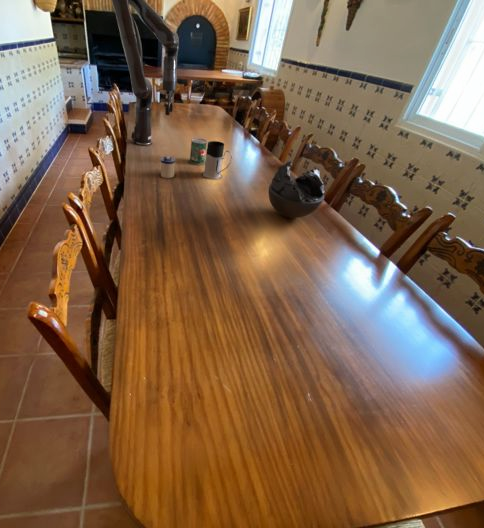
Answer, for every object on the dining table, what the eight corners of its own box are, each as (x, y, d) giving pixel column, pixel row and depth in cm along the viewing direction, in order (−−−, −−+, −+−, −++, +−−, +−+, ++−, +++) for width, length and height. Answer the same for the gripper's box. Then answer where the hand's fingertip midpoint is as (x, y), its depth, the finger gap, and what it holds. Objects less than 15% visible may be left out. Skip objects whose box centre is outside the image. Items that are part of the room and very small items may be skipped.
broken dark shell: (324, 228, 110) (345, 179, 98) (272, 227, 108) (287, 178, 97) (302, 203, 126) (318, 158, 114) (256, 202, 124) (267, 157, 112)
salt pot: (158, 177, 139) (159, 157, 134) (162, 171, 144) (162, 152, 139) (173, 178, 138) (174, 159, 133) (175, 173, 144) (176, 154, 138)
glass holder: (210, 170, 149) (214, 139, 140) (233, 179, 141) (239, 147, 132) (199, 174, 144) (202, 142, 135) (222, 184, 136) (227, 151, 127)
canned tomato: (189, 159, 161) (191, 137, 154) (204, 160, 161) (206, 138, 154) (189, 164, 154) (191, 142, 148) (204, 165, 154) (207, 143, 148)
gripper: (165, 77, 161) (165, 110, 171) (159, 80, 150) (159, 115, 160) (179, 78, 160) (177, 111, 170) (174, 81, 149) (173, 116, 159)
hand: (169, 113), depth 165 cm, fingers open, 8 cm apart
